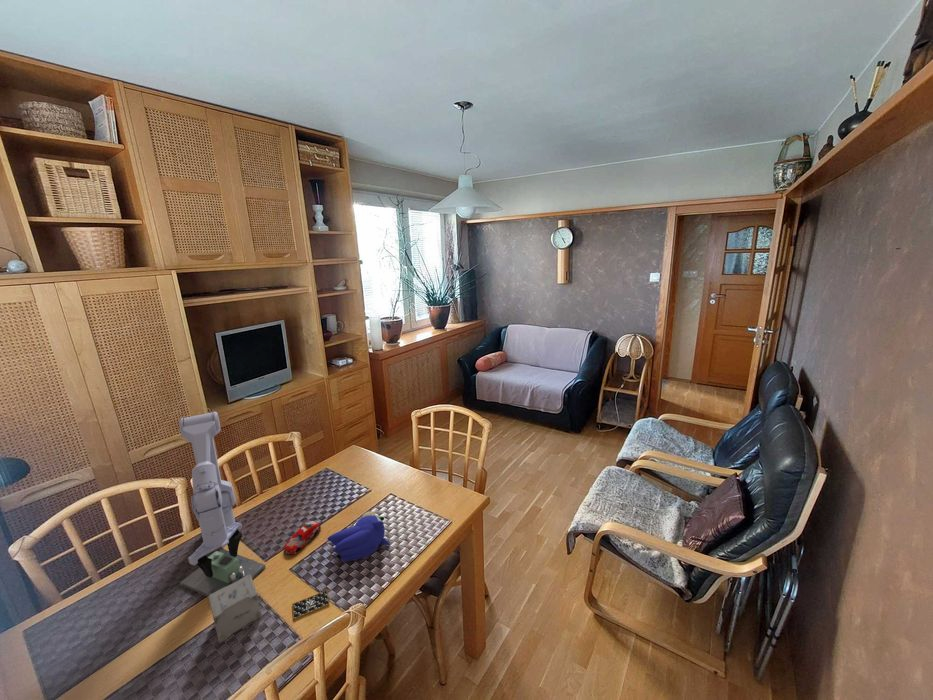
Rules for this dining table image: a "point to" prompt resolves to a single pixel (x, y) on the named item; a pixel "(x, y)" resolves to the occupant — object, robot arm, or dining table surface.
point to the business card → (310, 605)
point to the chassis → (211, 585)
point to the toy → (360, 538)
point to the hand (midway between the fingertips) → (222, 565)
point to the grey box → (234, 607)
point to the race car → (302, 537)
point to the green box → (224, 566)
